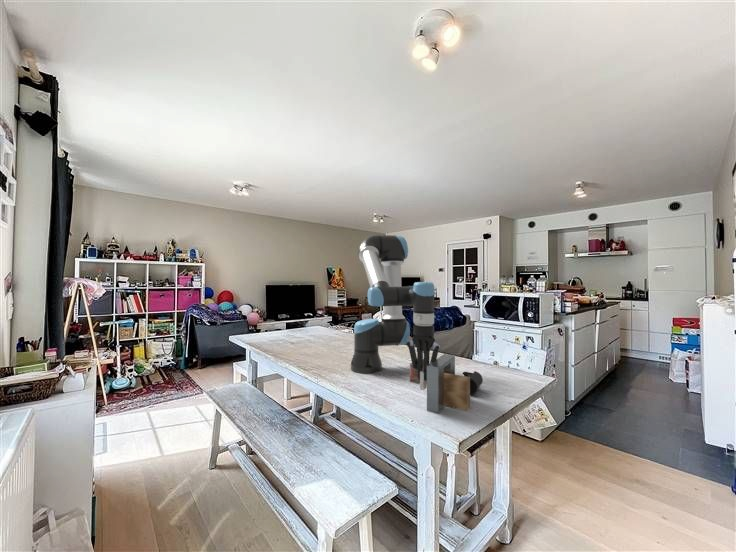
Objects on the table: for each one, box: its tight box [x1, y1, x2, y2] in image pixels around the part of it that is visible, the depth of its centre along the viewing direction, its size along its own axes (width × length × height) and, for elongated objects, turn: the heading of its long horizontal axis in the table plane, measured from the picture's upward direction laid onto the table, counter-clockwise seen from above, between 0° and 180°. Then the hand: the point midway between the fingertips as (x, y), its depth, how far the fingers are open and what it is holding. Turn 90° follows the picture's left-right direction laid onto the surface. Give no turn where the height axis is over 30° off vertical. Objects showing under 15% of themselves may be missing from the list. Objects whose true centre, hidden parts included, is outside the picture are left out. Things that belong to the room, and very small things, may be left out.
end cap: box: [460, 370, 484, 397], centre depth 120 cm, size 10×7×7 cm
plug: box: [444, 373, 471, 412], centre depth 109 cm, size 13×4×12 cm, turn 58°
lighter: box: [409, 358, 427, 385], centre depth 131 cm, size 8×3×10 cm, turn 68°
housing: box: [426, 353, 456, 414], centre depth 110 cm, size 4×18×15 cm, turn 148°
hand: (423, 388), depth 113 cm, fingers closed
